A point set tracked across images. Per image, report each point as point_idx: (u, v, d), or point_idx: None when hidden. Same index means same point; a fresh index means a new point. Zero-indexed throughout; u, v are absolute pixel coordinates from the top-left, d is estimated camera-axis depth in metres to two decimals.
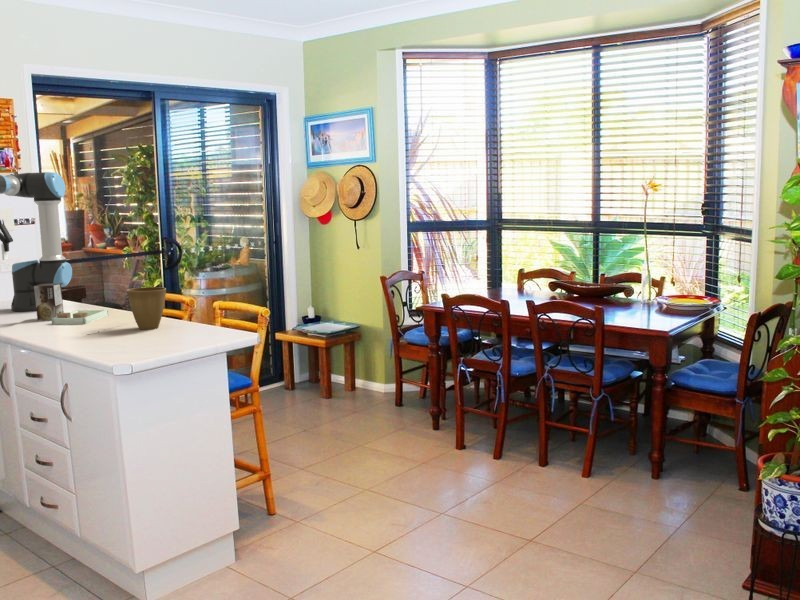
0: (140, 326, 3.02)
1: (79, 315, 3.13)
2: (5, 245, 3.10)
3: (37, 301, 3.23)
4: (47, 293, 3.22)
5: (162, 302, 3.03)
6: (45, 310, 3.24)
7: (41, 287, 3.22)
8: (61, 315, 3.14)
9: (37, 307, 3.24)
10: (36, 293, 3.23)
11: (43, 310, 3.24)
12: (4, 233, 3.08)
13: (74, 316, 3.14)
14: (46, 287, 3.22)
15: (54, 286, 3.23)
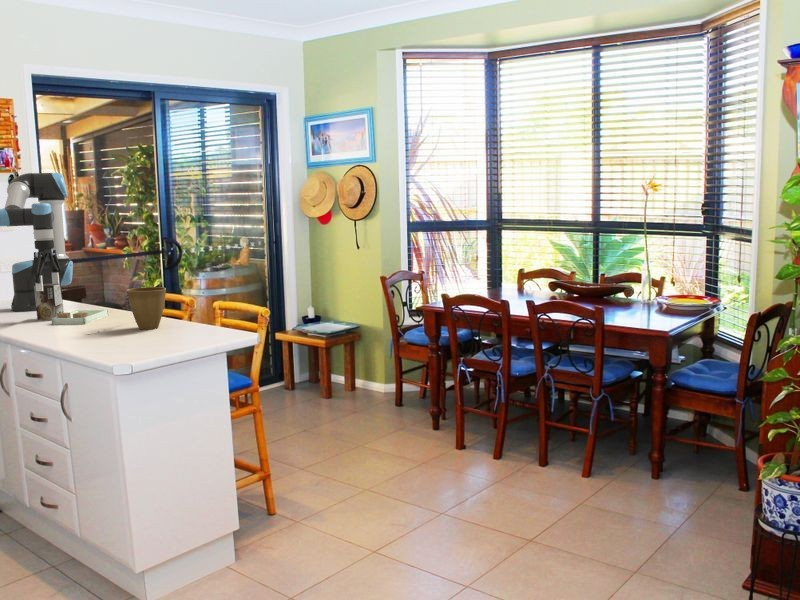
0: (140, 326, 3.02)
1: (79, 315, 3.13)
2: None
3: (37, 301, 3.23)
4: (47, 293, 3.22)
5: (162, 302, 3.03)
6: (45, 310, 3.24)
7: None
8: (61, 315, 3.14)
9: (37, 307, 3.24)
10: (36, 293, 3.23)
11: (43, 310, 3.24)
12: None
13: (74, 316, 3.14)
14: (46, 287, 3.22)
15: (54, 286, 3.23)
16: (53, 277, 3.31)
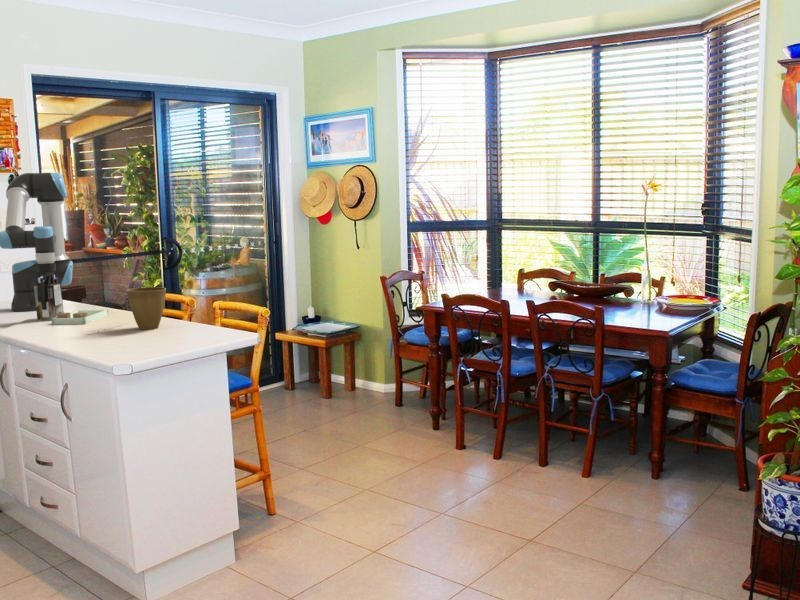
0: (140, 326, 3.02)
1: (79, 315, 3.13)
2: None
3: (37, 301, 3.23)
4: (47, 293, 3.22)
5: (162, 302, 3.03)
6: None
7: None
8: (61, 315, 3.14)
9: (37, 307, 3.24)
10: (36, 293, 3.23)
11: None
12: None
13: (74, 316, 3.14)
14: None
15: (54, 286, 3.23)
16: None
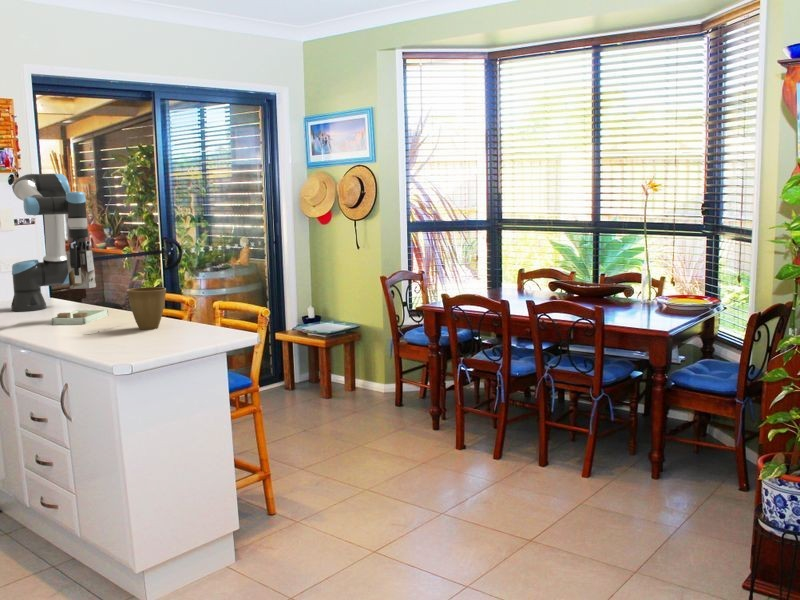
0: (140, 326, 3.02)
1: (79, 315, 3.13)
2: None
3: (69, 267, 3.22)
4: (80, 258, 3.21)
5: (162, 302, 3.03)
6: None
7: None
8: (61, 315, 3.14)
9: (69, 273, 3.22)
10: (68, 259, 3.21)
11: None
12: None
13: (74, 316, 3.14)
14: None
15: (87, 252, 3.21)
16: None
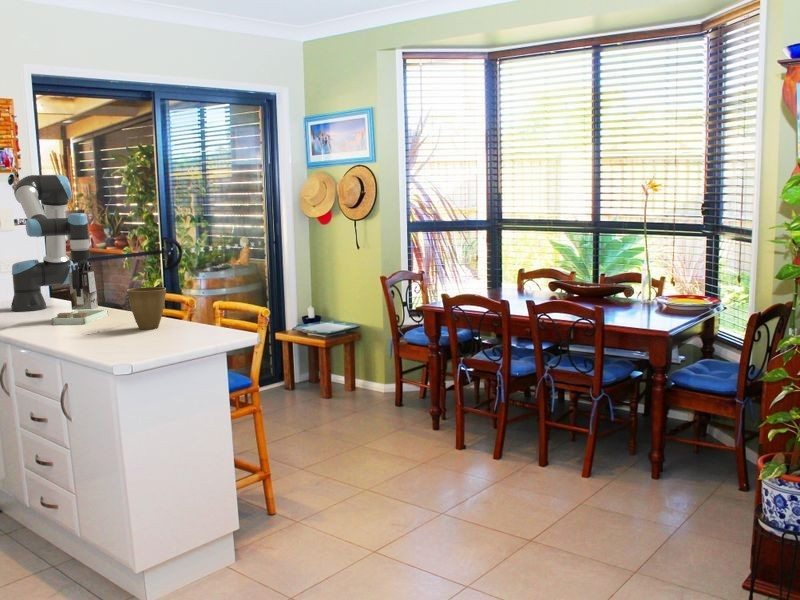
0: (140, 326, 3.02)
1: (79, 315, 3.13)
2: None
3: (71, 288, 3.23)
4: (82, 280, 3.22)
5: (162, 302, 3.03)
6: None
7: None
8: (61, 315, 3.14)
9: (71, 294, 3.23)
10: (70, 280, 3.22)
11: None
12: None
13: (74, 316, 3.14)
14: None
15: (88, 273, 3.22)
16: None
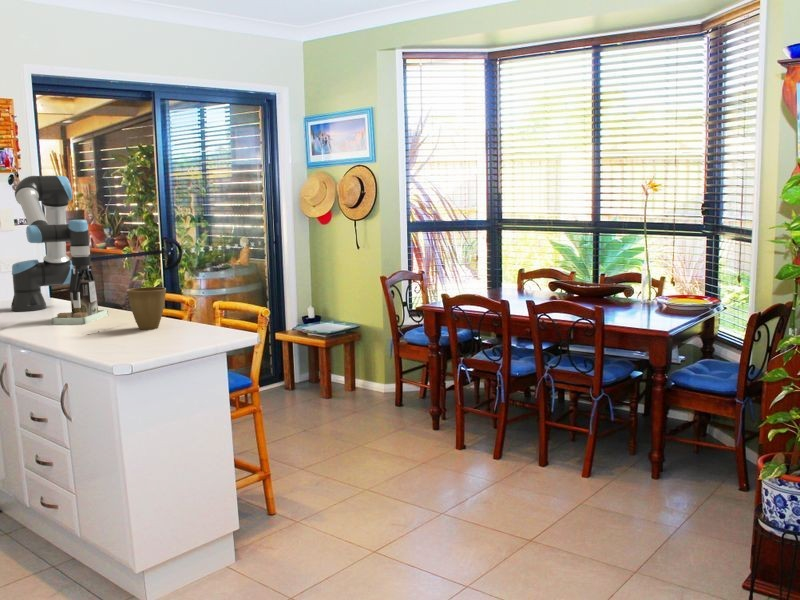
0: (140, 326, 3.02)
1: (79, 315, 3.13)
2: None
3: (72, 298, 3.23)
4: (82, 289, 3.23)
5: (162, 302, 3.03)
6: None
7: None
8: (61, 315, 3.14)
9: (72, 304, 3.24)
10: None
11: None
12: None
13: (74, 316, 3.14)
14: (81, 284, 3.22)
15: (89, 283, 3.23)
16: None
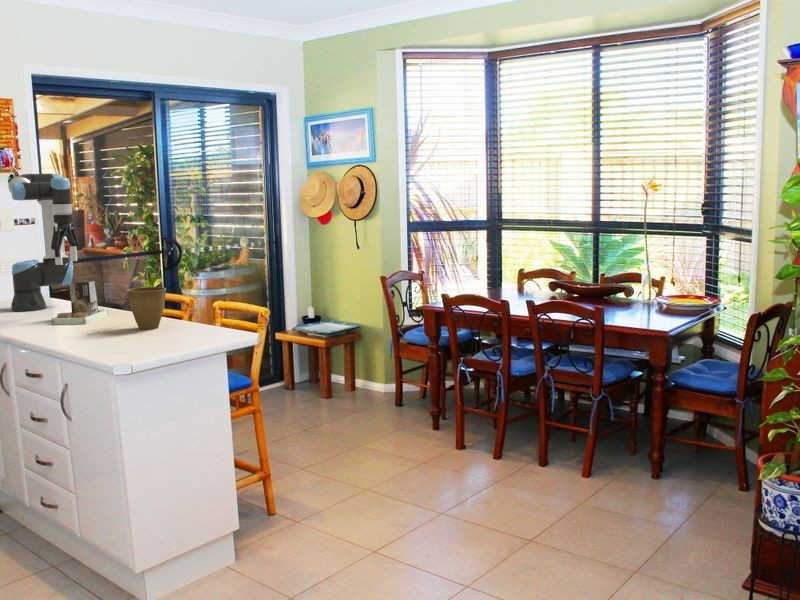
0: (140, 326, 3.02)
1: (79, 315, 3.13)
2: None
3: (72, 298, 3.23)
4: (82, 289, 3.22)
5: (162, 302, 3.03)
6: (80, 307, 3.24)
7: (76, 284, 3.22)
8: (61, 315, 3.14)
9: (72, 304, 3.24)
10: (71, 290, 3.23)
11: (78, 307, 3.24)
12: None
13: (74, 316, 3.14)
14: (81, 284, 3.22)
15: (89, 283, 3.23)
16: (71, 251, 3.36)
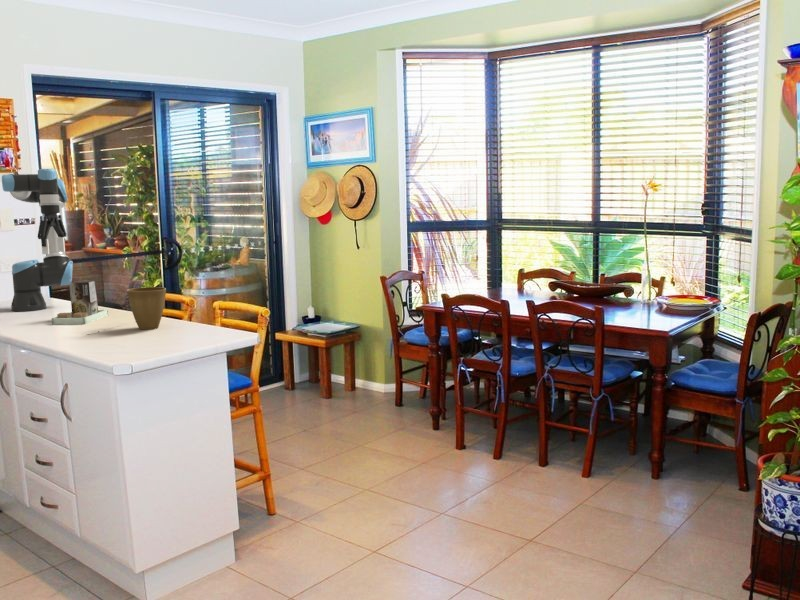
0: (140, 326, 3.02)
1: (79, 315, 3.13)
2: None
3: (72, 298, 3.23)
4: (82, 289, 3.22)
5: (162, 302, 3.03)
6: (80, 307, 3.24)
7: (76, 284, 3.22)
8: (61, 315, 3.14)
9: (72, 304, 3.24)
10: (71, 290, 3.23)
11: (78, 307, 3.24)
12: None
13: (74, 316, 3.14)
14: (81, 284, 3.22)
15: (89, 283, 3.23)
16: (59, 242, 3.40)
